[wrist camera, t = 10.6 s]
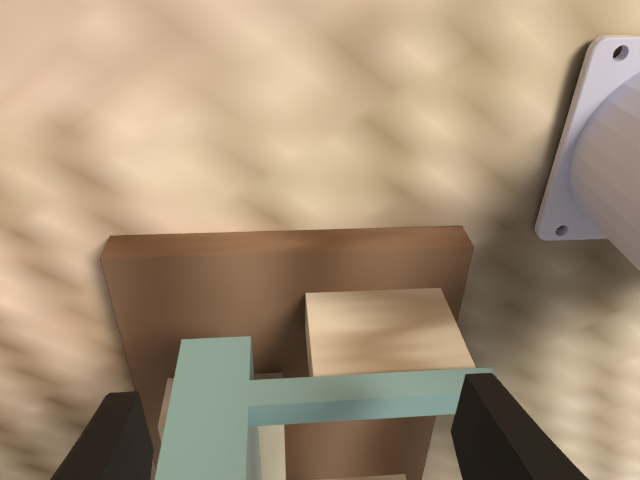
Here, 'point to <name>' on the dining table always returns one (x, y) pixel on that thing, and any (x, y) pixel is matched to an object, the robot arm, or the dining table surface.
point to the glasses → (275, 406)
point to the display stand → (299, 327)
